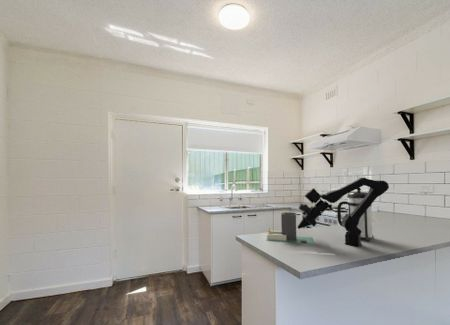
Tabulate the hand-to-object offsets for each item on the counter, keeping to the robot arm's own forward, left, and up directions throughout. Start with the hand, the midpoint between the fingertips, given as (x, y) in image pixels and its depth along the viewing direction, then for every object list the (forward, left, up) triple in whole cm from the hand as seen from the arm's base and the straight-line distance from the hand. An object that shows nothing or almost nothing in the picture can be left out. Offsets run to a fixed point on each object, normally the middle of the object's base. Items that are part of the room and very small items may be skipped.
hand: (298, 228), depth 129 cm
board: (+4, +3, -7) cm, 9 cm away
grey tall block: (+4, +3, -6) cm, 8 cm away
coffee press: (-19, -34, -7) cm, 40 cm away
